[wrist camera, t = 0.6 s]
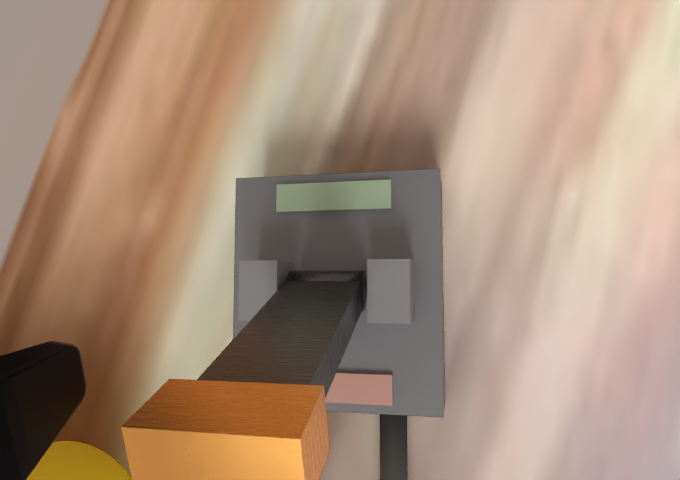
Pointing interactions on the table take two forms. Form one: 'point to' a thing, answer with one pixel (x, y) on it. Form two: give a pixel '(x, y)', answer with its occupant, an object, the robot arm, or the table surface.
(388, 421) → the pair of plug prongs
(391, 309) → the box
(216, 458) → the breaker lever
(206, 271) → the table surface
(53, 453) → the tape roll
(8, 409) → the robot arm
